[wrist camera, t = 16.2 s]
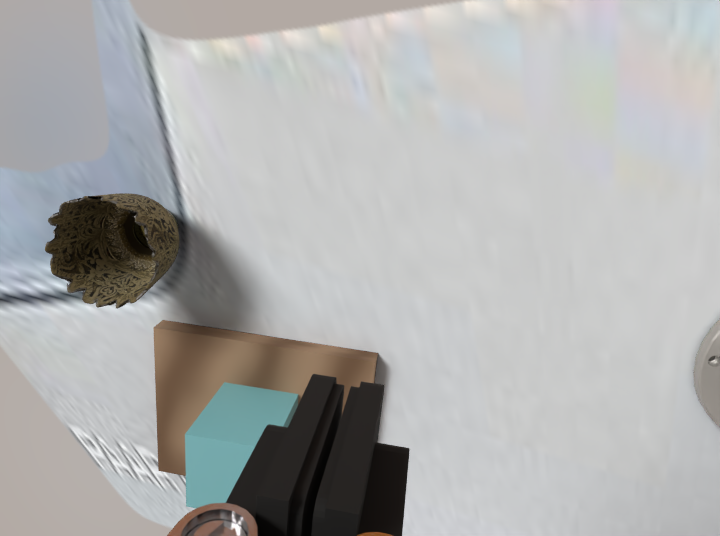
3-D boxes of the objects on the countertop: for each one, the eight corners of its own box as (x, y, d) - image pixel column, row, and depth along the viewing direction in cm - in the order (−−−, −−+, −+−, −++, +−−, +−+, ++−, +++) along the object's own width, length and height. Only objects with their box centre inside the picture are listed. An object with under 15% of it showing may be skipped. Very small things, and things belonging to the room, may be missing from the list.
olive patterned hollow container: (191, 285, 42) (137, 326, 35) (107, 250, 42) (35, 284, 35) (216, 200, 40) (163, 225, 32) (126, 163, 40) (53, 179, 32)
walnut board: (377, 353, 42) (375, 362, 40) (361, 495, 46) (358, 507, 45) (162, 320, 43) (153, 327, 42) (166, 459, 48) (158, 470, 47)
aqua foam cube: (298, 394, 42) (272, 449, 35) (294, 458, 44) (269, 521, 37) (224, 382, 43) (184, 434, 36) (223, 446, 45) (186, 506, 38)
